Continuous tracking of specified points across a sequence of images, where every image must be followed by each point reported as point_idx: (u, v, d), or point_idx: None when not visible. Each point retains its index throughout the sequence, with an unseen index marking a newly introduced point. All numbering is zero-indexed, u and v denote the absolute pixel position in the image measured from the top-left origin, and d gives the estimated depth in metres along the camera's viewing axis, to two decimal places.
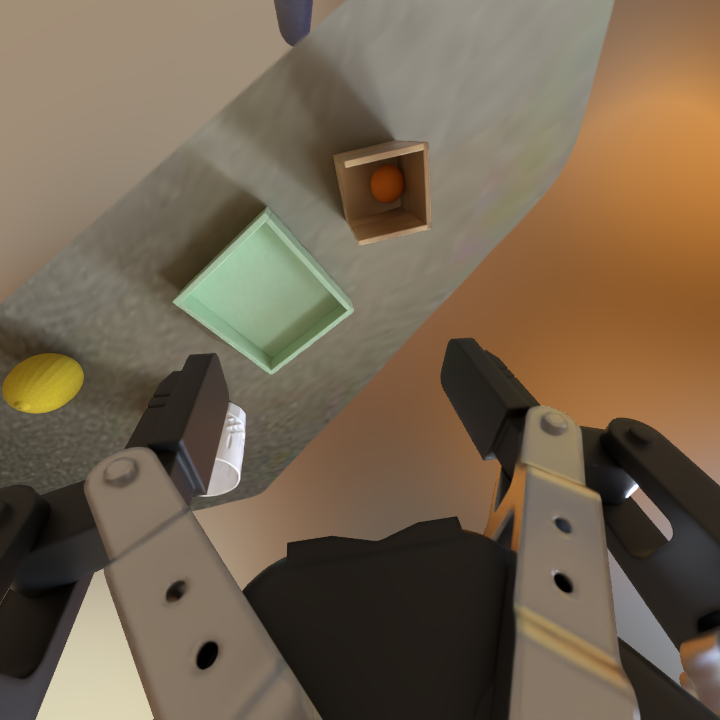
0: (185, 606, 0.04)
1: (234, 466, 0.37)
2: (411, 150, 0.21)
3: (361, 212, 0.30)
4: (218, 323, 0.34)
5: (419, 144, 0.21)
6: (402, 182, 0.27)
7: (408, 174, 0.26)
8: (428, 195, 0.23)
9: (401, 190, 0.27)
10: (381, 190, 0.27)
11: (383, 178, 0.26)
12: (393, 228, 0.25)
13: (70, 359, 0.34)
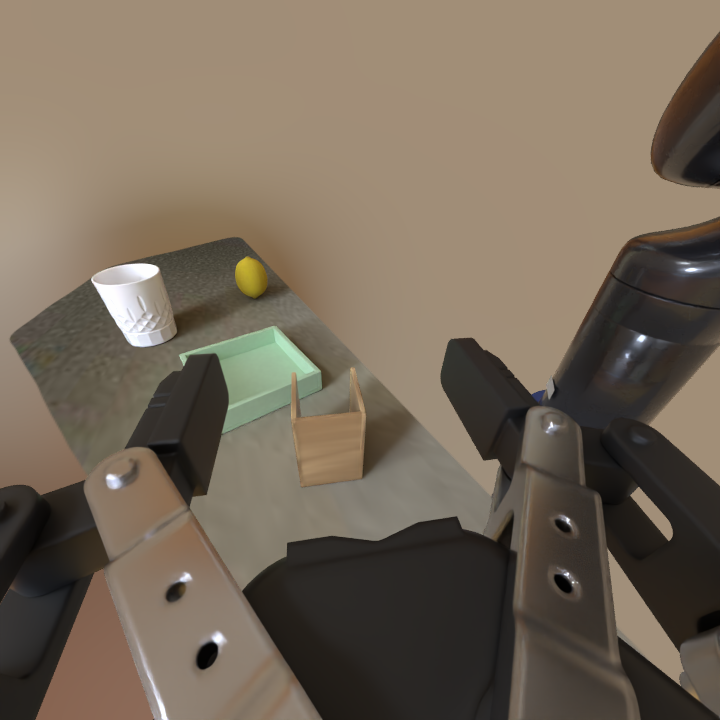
0: (185, 606, 0.04)
1: (119, 285, 0.39)
2: (360, 403, 0.25)
3: None
4: (247, 343, 0.44)
5: None
6: None
7: None
8: (323, 417, 0.24)
9: None
10: None
11: None
12: (297, 405, 0.26)
13: (257, 292, 0.57)
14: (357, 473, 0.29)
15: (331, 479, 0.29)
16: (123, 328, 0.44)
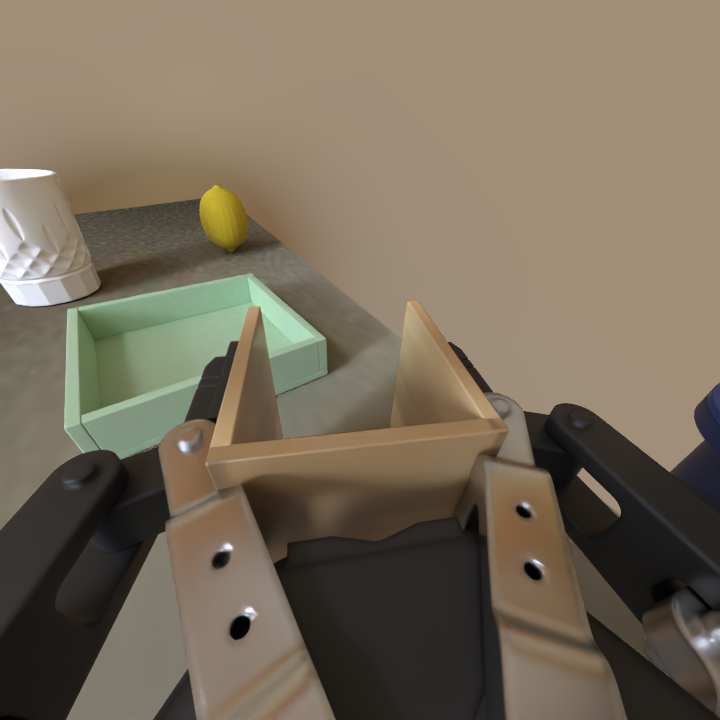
0: (227, 575, 0.04)
1: None
2: (470, 390, 0.07)
3: None
4: (201, 299, 0.26)
5: (492, 412, 0.07)
6: None
7: None
8: (344, 442, 0.06)
9: None
10: None
11: None
12: (255, 395, 0.08)
13: (233, 240, 0.39)
14: None
15: None
16: None
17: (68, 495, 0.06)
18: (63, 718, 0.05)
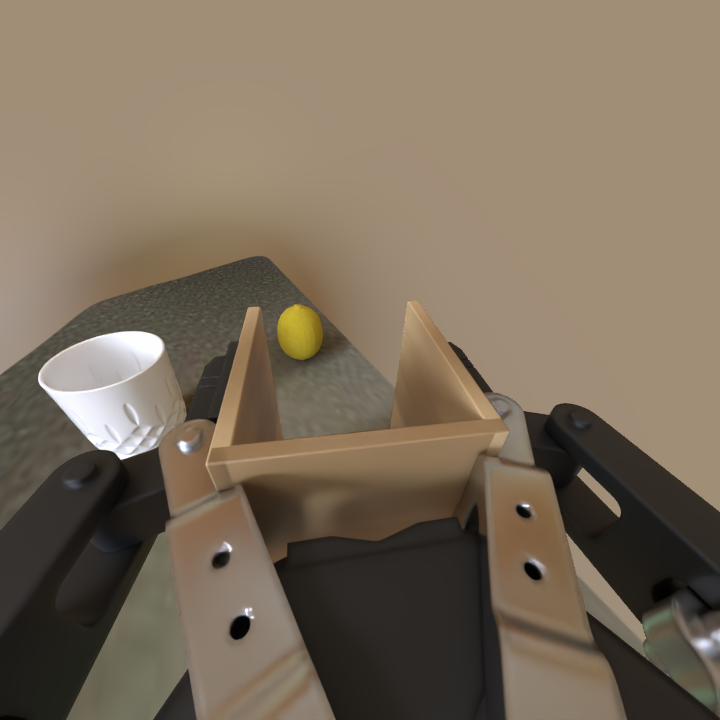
0: (227, 575, 0.04)
1: (88, 392, 0.21)
2: (471, 390, 0.07)
3: None
4: None
5: (492, 413, 0.07)
6: None
7: None
8: (345, 442, 0.06)
9: None
10: None
11: None
12: (255, 396, 0.08)
13: (309, 355, 0.38)
14: None
15: None
16: (100, 448, 0.25)
17: (68, 495, 0.06)
18: (63, 718, 0.05)
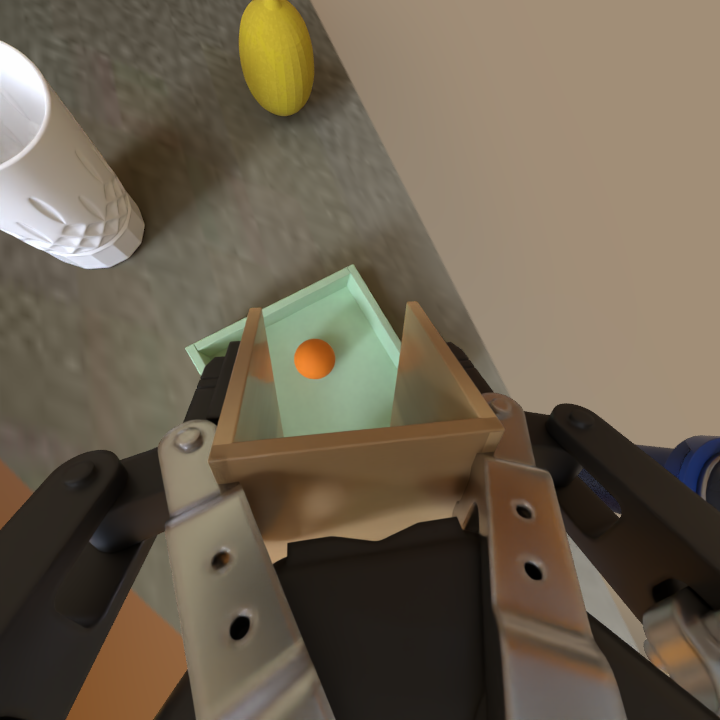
0: (226, 575, 0.04)
1: None
2: (468, 390, 0.07)
3: None
4: (302, 303, 0.23)
5: (488, 412, 0.07)
6: (302, 370, 0.22)
7: None
8: (343, 440, 0.06)
9: (297, 368, 0.22)
10: (303, 343, 0.22)
11: (310, 345, 0.22)
12: (256, 395, 0.08)
13: (293, 112, 0.26)
14: None
15: None
16: (28, 242, 0.20)
17: (68, 496, 0.06)
18: (63, 718, 0.05)
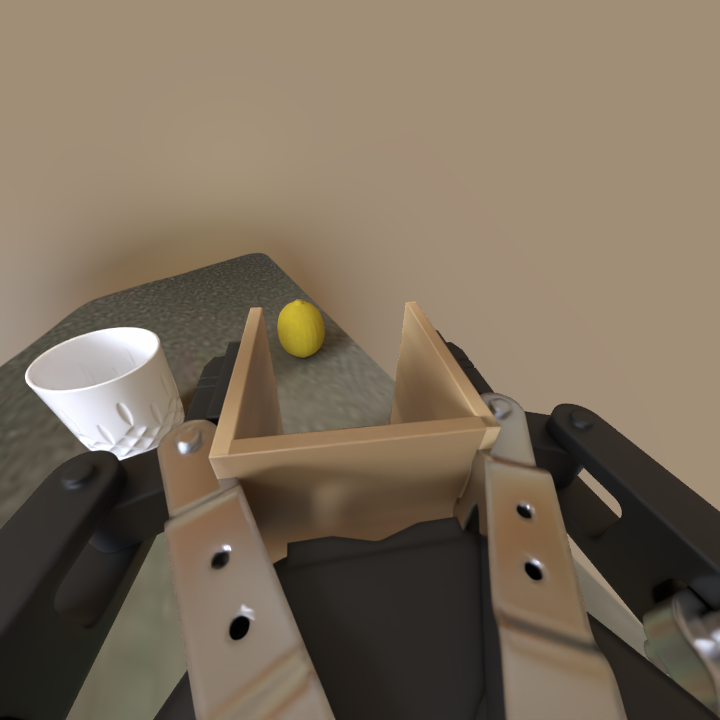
0: (226, 576, 0.04)
1: (78, 390, 0.19)
2: (465, 389, 0.07)
3: None
4: None
5: (485, 410, 0.07)
6: None
7: None
8: (342, 437, 0.06)
9: None
10: None
11: None
12: (257, 393, 0.09)
13: (311, 352, 0.37)
14: None
15: None
16: None
17: (67, 496, 0.06)
18: (62, 719, 0.05)
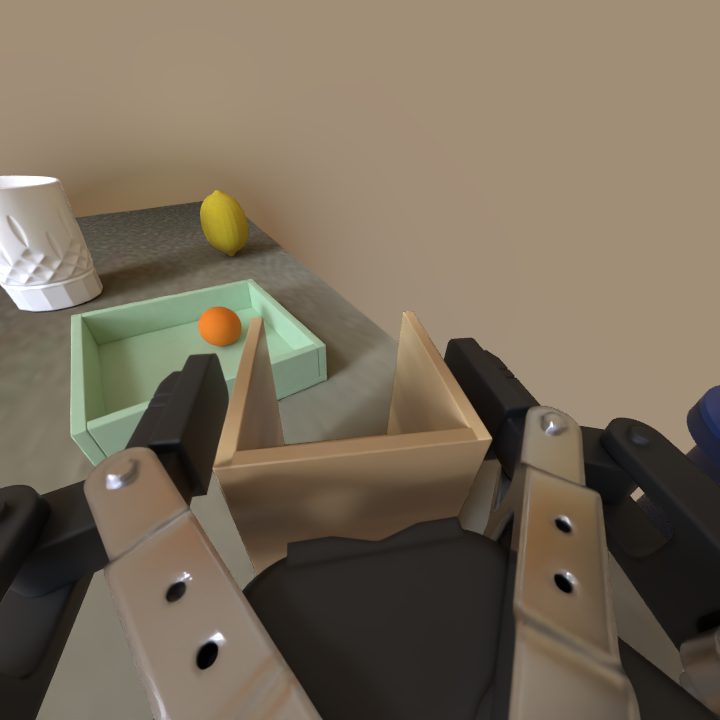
0: (185, 606, 0.04)
1: None
2: (459, 400, 0.08)
3: None
4: (202, 305, 0.27)
5: (478, 421, 0.07)
6: (221, 316, 0.22)
7: None
8: (339, 449, 0.06)
9: (224, 324, 0.22)
10: (202, 334, 0.22)
11: (199, 322, 0.22)
12: (258, 403, 0.09)
13: (233, 245, 0.39)
14: None
15: None
16: None
17: None
18: None
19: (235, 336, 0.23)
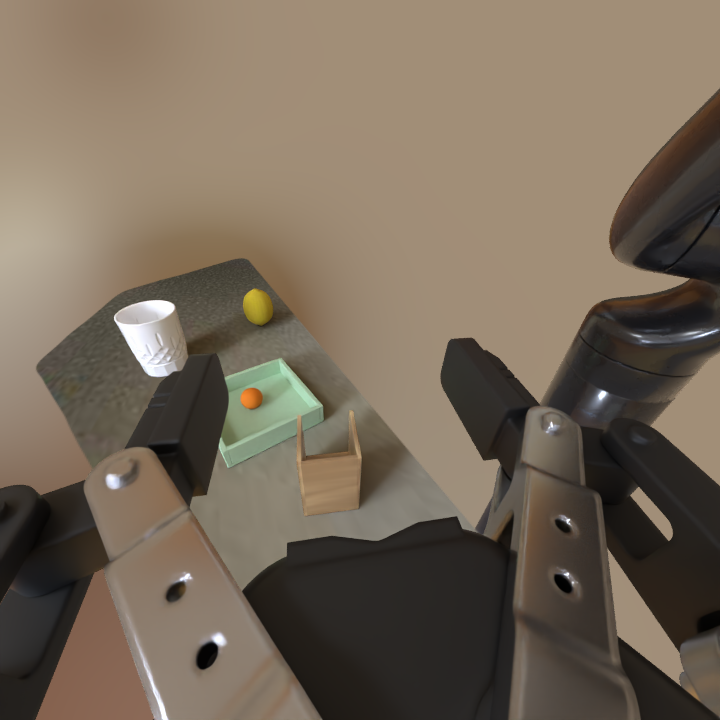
0: (185, 606, 0.04)
1: (140, 325, 0.43)
2: (357, 447, 0.29)
3: None
4: (255, 375, 0.48)
5: (360, 453, 0.28)
6: (245, 405, 0.42)
7: None
8: (324, 460, 0.27)
9: (249, 405, 0.42)
10: None
11: None
12: (302, 446, 0.30)
13: (264, 321, 0.61)
14: (354, 504, 0.33)
15: (331, 510, 0.32)
16: (141, 361, 0.47)
17: None
18: None
19: (257, 398, 0.42)
